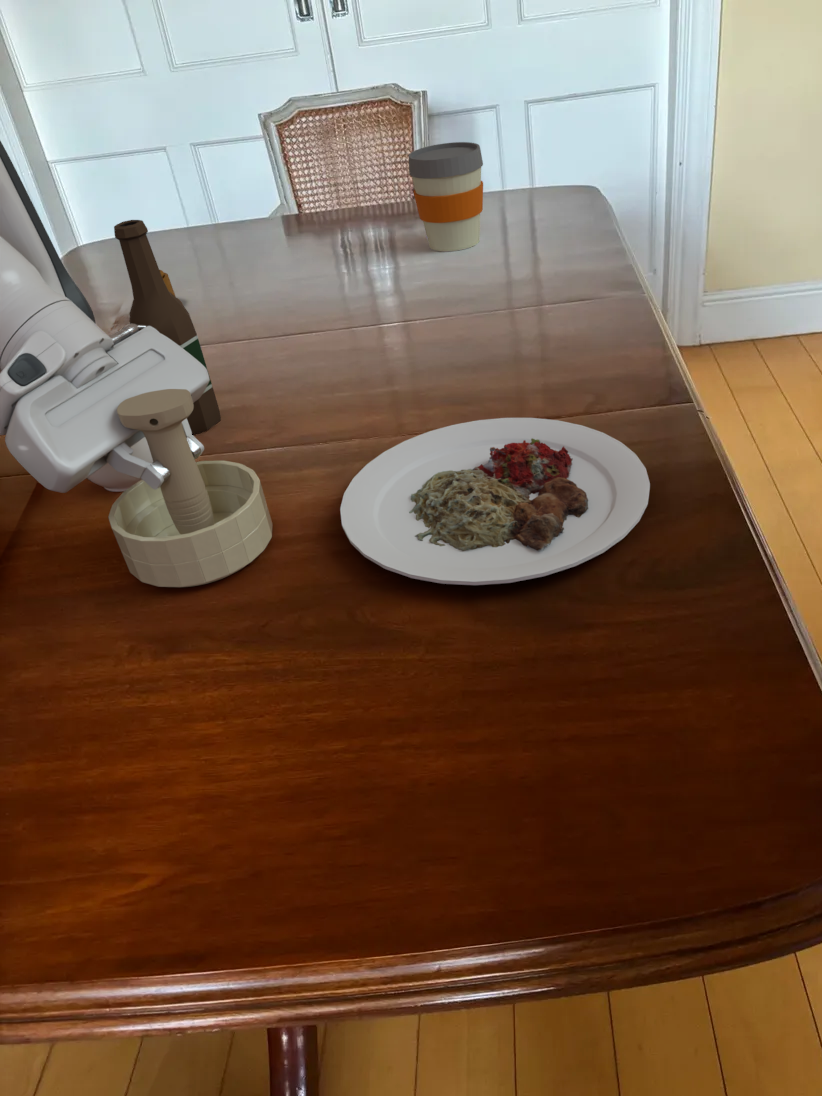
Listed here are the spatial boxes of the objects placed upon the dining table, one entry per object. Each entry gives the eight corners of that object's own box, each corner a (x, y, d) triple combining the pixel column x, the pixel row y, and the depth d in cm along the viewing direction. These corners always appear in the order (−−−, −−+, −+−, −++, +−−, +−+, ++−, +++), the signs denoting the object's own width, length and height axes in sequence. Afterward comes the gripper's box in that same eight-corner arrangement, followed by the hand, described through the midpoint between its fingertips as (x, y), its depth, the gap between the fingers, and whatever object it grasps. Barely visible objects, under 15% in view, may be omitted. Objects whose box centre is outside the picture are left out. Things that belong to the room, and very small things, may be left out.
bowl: (119, 605, 82) (96, 552, 79) (141, 524, 94) (122, 474, 90) (272, 579, 83) (256, 525, 79) (276, 501, 94) (262, 450, 90)
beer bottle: (171, 411, 115) (106, 217, 101) (229, 406, 114) (172, 209, 100) (153, 440, 109) (81, 237, 95) (214, 435, 108) (151, 229, 94)
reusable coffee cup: (414, 240, 163) (401, 150, 154) (481, 228, 164) (473, 138, 155) (425, 259, 153) (412, 164, 144) (496, 246, 154) (488, 151, 145)
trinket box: (96, 514, 96) (63, 436, 91) (71, 477, 104) (39, 403, 98) (190, 478, 100) (164, 401, 95) (159, 445, 108) (133, 372, 102)
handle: (171, 534, 89) (120, 396, 80) (235, 523, 90) (192, 384, 81) (166, 562, 86) (113, 420, 76) (233, 550, 86) (188, 407, 77)
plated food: (309, 600, 79) (301, 569, 77) (376, 438, 103) (371, 411, 101) (656, 597, 74) (657, 564, 72) (644, 427, 97) (644, 398, 95)
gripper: (131, 338, 90) (235, 435, 92) (-31, 433, 76) (95, 545, 78) (150, 295, 85) (259, 399, 87) (-19, 388, 71) (115, 509, 73)
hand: (181, 469), depth 82 cm, fingers closed on handle, 3 cm apart
